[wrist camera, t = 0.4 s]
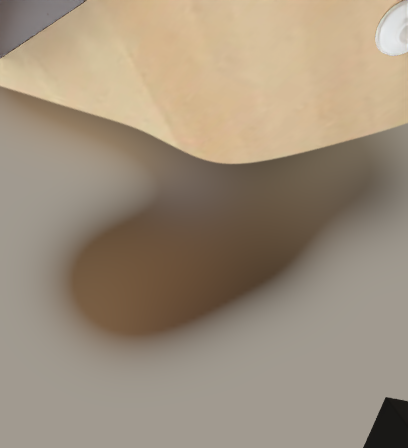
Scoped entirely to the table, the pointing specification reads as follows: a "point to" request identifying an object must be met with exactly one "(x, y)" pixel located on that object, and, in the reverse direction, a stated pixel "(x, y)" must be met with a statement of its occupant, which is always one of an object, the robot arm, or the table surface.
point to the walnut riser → (29, 19)
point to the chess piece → (393, 30)
